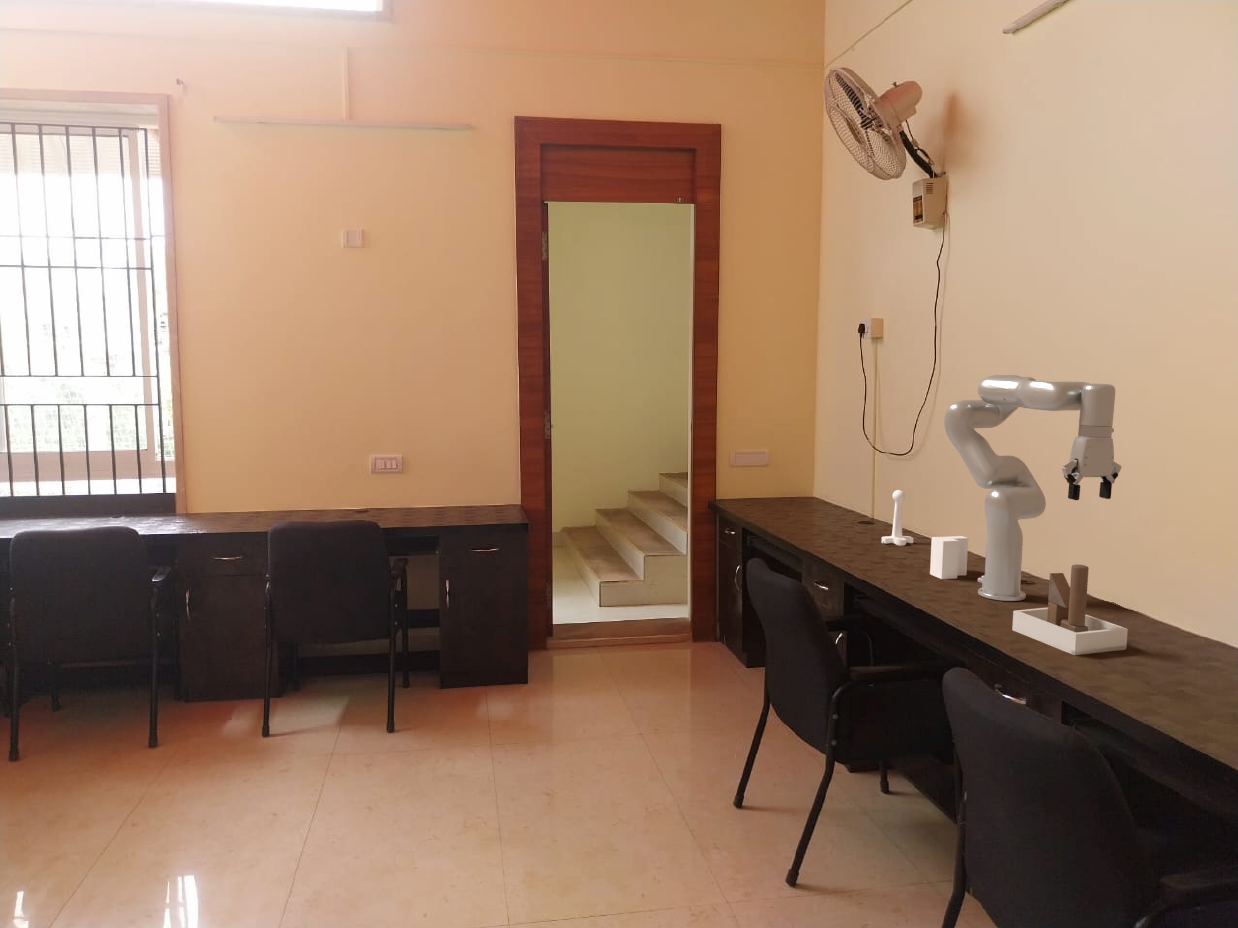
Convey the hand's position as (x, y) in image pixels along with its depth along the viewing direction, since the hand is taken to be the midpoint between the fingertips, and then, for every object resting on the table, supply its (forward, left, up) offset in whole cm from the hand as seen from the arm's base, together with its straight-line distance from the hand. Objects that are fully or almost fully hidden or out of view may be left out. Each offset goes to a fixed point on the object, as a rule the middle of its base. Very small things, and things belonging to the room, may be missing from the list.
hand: (1089, 498), depth 225 cm
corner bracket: (-53, -1, -33) cm, 62 cm away
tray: (+12, -16, -32) cm, 38 cm away
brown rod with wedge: (+11, -16, -31) cm, 37 cm away
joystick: (-98, +12, -32) cm, 104 cm away
